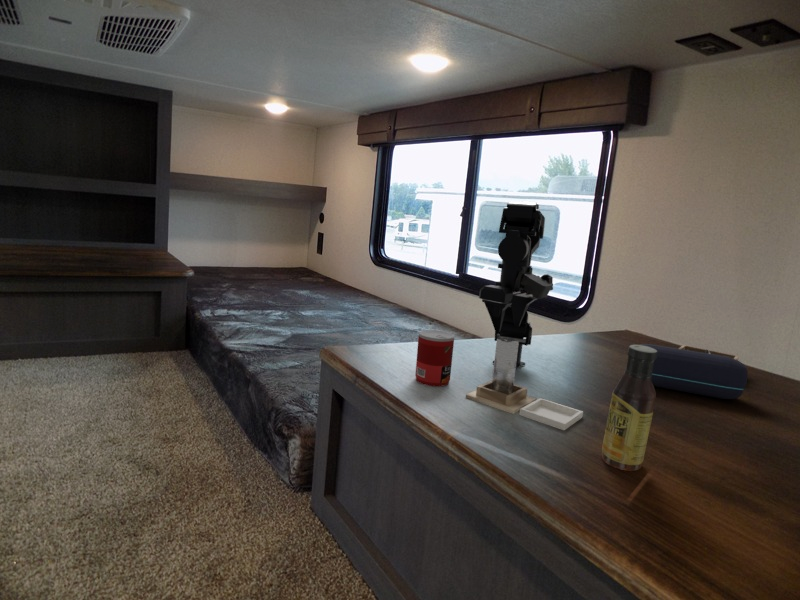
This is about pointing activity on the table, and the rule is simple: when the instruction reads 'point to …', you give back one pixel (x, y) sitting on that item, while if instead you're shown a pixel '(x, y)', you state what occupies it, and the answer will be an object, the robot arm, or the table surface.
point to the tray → (551, 413)
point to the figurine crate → (708, 350)
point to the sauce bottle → (631, 411)
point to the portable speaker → (698, 373)
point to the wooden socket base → (501, 397)
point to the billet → (504, 365)
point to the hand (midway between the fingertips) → (507, 328)
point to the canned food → (434, 357)
